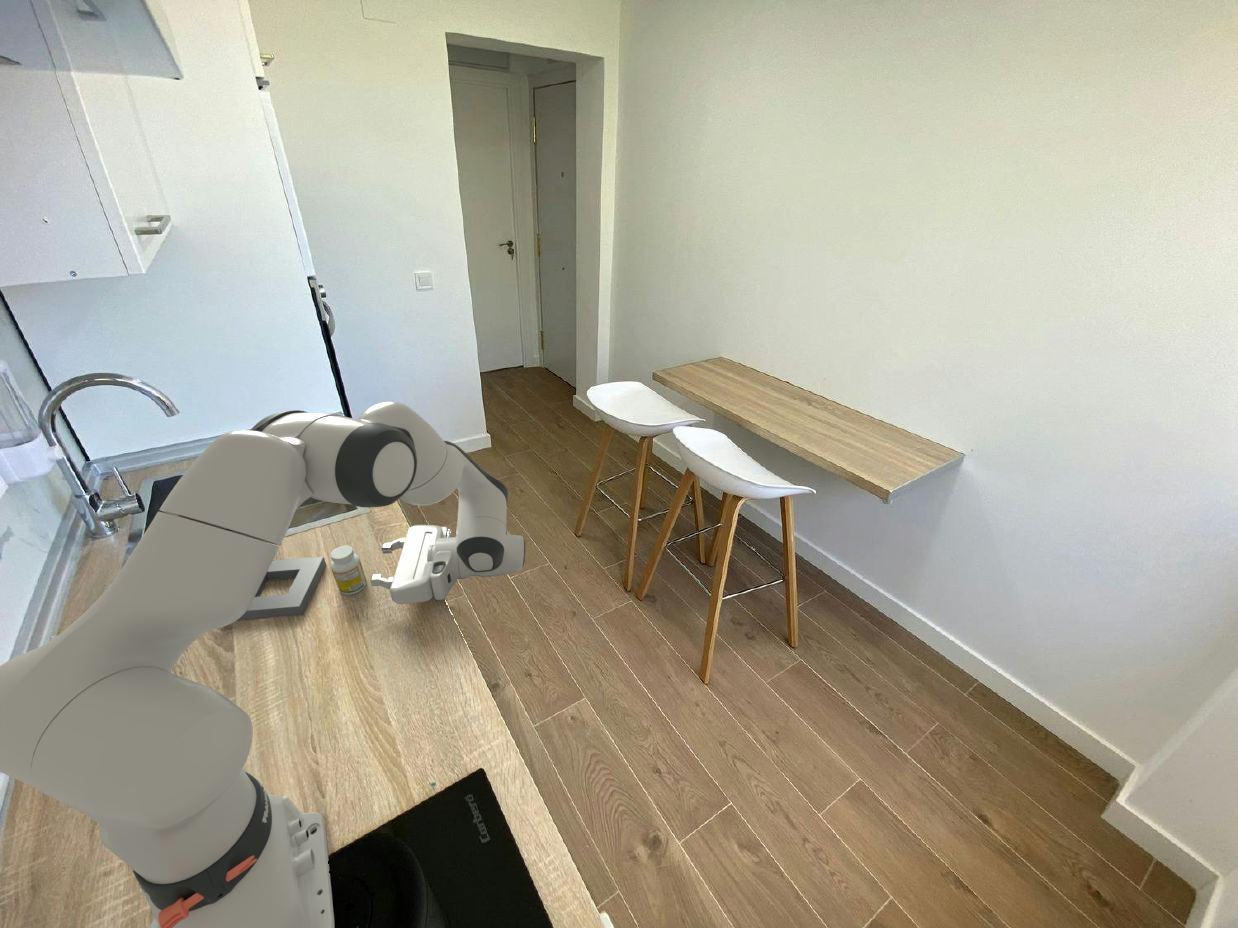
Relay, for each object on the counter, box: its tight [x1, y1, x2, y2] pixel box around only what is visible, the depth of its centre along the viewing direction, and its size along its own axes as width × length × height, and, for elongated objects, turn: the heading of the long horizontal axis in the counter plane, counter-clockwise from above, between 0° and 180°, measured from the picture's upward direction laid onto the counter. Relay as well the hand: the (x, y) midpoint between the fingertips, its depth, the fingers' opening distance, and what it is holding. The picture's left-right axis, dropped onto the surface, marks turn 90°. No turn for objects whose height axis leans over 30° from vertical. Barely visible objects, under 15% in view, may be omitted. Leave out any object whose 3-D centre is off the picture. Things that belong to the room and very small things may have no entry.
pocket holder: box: [235, 556, 327, 622], centre depth 103 cm, size 14×14×2 cm
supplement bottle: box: [330, 545, 367, 596], centre depth 103 cm, size 5×5×10 cm
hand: (377, 563), depth 103 cm, fingers open, 8 cm apart
